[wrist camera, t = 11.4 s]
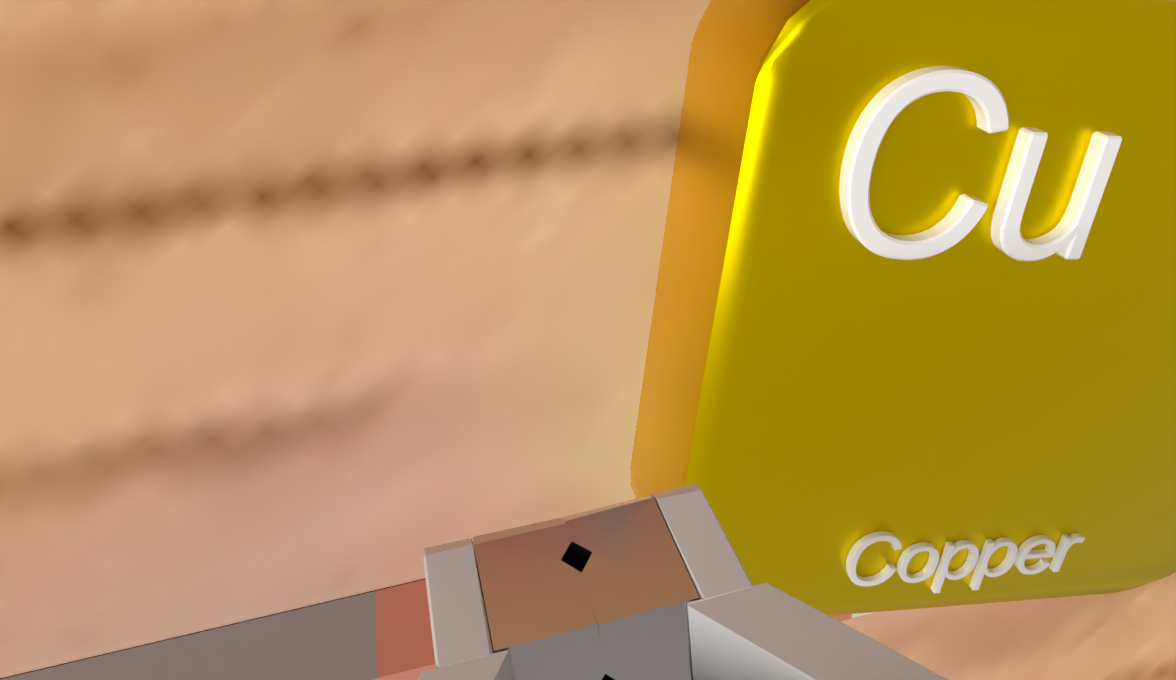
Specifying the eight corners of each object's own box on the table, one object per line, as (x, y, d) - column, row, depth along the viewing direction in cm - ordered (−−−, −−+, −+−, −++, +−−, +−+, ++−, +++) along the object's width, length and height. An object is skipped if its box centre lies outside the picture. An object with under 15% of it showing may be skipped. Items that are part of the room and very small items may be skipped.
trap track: (-820, -311, 13) (-1104, -346, 11) (1537, -552, 18) (1732, -615, 16) (-72, 757, 25) (-123, 866, 22) (1263, 433, 29) (1351, 490, 27)
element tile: (616, 523, 26) (665, 652, 22) (700, -61, 20) (791, -33, 15) (1080, 499, 30) (1197, 606, 26) (1285, -6, 23) (1488, 30, 19)
